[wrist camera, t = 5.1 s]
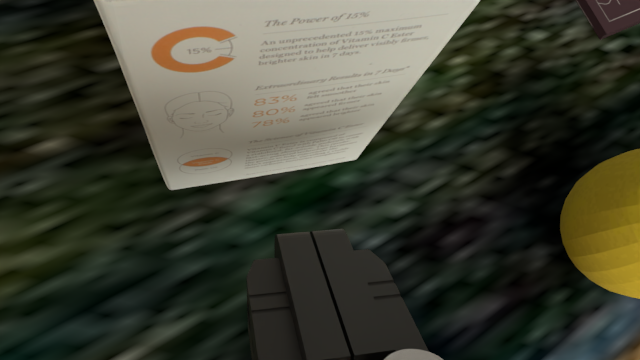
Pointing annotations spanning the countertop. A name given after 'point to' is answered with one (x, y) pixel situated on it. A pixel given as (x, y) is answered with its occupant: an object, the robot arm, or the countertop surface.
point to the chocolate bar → (610, 15)
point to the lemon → (606, 224)
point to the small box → (270, 77)
